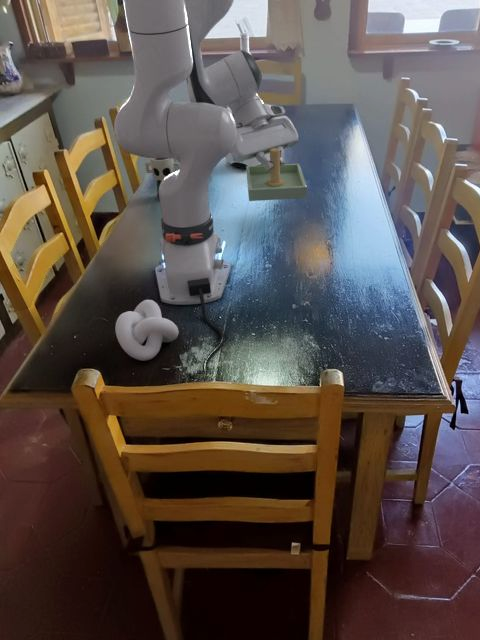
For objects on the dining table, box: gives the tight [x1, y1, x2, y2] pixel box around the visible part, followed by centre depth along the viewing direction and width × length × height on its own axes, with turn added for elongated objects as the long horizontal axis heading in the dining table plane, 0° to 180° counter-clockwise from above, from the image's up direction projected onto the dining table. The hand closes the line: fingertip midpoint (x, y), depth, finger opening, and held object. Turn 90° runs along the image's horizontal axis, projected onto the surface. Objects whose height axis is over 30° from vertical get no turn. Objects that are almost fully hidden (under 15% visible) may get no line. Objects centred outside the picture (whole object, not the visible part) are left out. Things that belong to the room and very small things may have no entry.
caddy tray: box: [245, 148, 308, 202], centre depth 139 cm, size 17×15×10 cm
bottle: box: [239, 32, 252, 55], centre depth 233 cm, size 8×8×30 cm
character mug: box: [144, 158, 180, 199], centre depth 162 cm, size 11×7×13 cm, turn 87°
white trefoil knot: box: [114, 299, 180, 362], centre depth 104 cm, size 11×12×9 cm
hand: (276, 166), depth 139 cm, fingers closed on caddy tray, 2 cm apart
